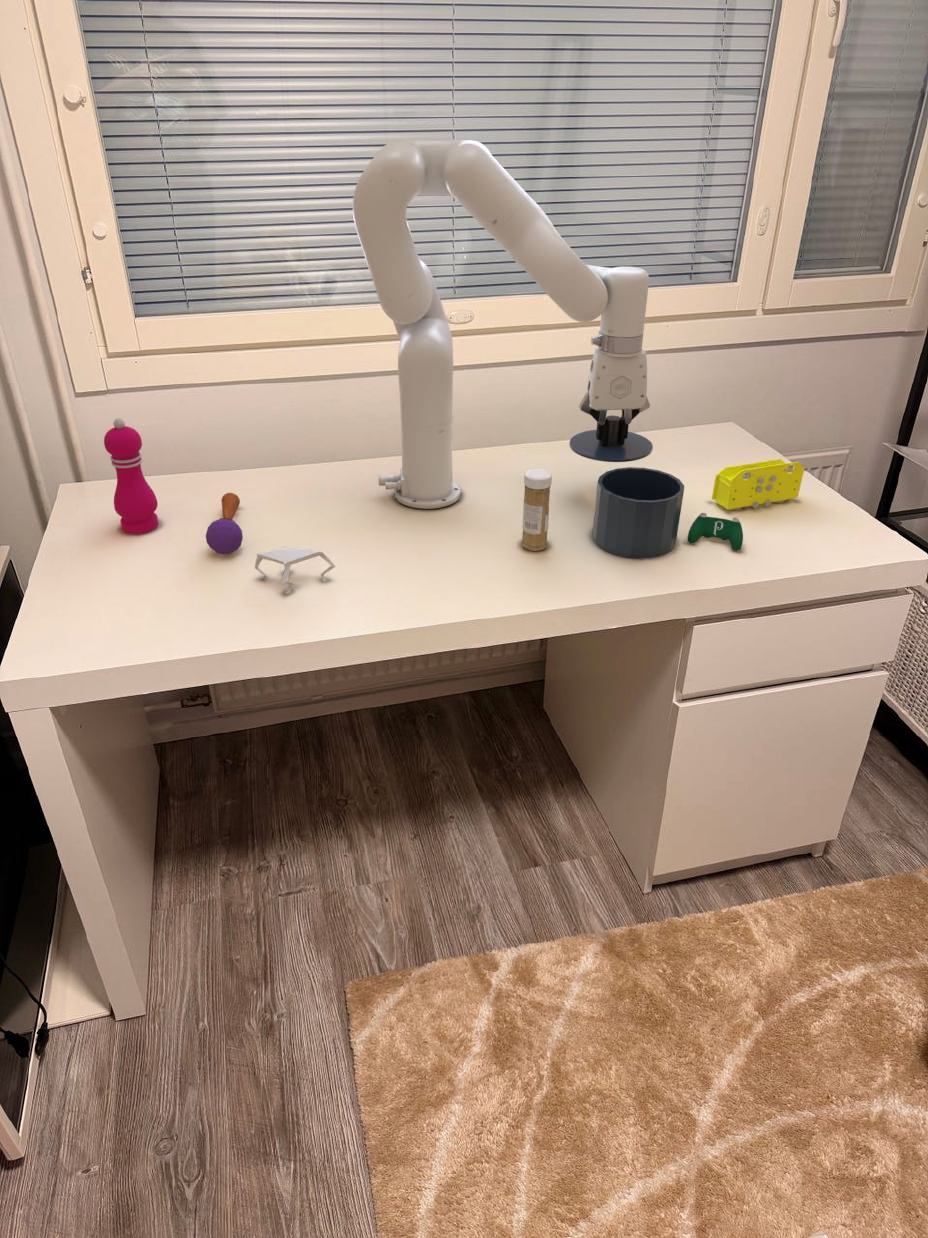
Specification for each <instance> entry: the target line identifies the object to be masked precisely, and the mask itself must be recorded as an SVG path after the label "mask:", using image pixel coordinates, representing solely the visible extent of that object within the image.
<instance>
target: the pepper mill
mask: <svg viewBox="0 0 928 1238" xmlns="http://www.w3.org/2000/svg"><path fill="white" fill-rule="evenodd" d="M112 424H113V427H112V428H110V429H109V430H108V431H107V432H106V433H105V434H104V437H103V445H104V448H105V450H106V452H107V453H108V454H110V455H111V456H110V461H111V465H112V466H113V468H114V469H115V472H116V487H115V491H114V495H113V508H114V511H115V513H116V514H117V515H118V516H119V517H121V518H120V521H119V522H120V526H121V529H122V531H123V532H124V533H126V534H130V535H142V534H143V535H144V534H146V533H151V532H152V531H154V530H156V529H157V528H158V527H159V524H160V523H159V519H158V514H157V513H156V510H157V508H158V505H159V504H158V500H157V497H156V494H155V492H154V490H153V489H152V488H151V486H150V484H149V483H148V482H147V479H146V478H145V476H144V474H143V470H142V465H141V464H142V463H143V458H142V453H141V452H140V451H141V449H142V447H143V440H142V437H141V435H140V434H139V433H140V432H138V431H137V430H136V429H135V428H133V427H131V426H127V425H126V422H125V420H124V419H122V418H119V417H118V418H115V419H114V420H113V423H112Z"/></svg>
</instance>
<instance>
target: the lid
mask: <svg viewBox="0 0 928 1238" xmlns="http://www.w3.org/2000/svg"><path fill="white" fill-rule="evenodd" d="M606 424H607V438H606V445H605V446H602V445H601V444H600V442H599V440H597V439H596V430H597V429H591V430H590V429H589V430H586V431H582V432H578V433H576V434H574V435H573V436H572V437H571V438H570V439H569V443H568V445H569V446H568V447H569V449H570V450H571V451H572V452H573V453H575V454H576V455H578V456H580V457H583V458H586V459H589V460H593V461H596V462H597V461H598V462H604V463H605V462H606V463H627V462H635V461H639V460H641V459H642V460H643V459H644V458H646V457H648V456H650V454H652V453H653V448H654V446H653V443H652V441H651V440H650V439H648V438H647V437H645V436H643V435H641V434H638V433H635V432H631V431H628V436H627V439H625V442H624V445H621V444H619V435H620V425H621V416H618V415H606Z"/></svg>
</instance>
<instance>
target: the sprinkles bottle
mask: <svg viewBox="0 0 928 1238" xmlns="http://www.w3.org/2000/svg"><path fill="white" fill-rule="evenodd" d="M552 481H553V474H552V473H551V472H550V471H549V470H546V469H542V468H533V469H529V470H526V471H525V472H524V475H523V484H524V495H523V507H522V508H523V512H522V526H521V527H522V537H521V538H522V539H521V546H522V548H523V549H526V550H528V551H533V552H534V551H535V552H538V551H543V550H545V549H546V548H547V546H548V530H549V517H550V513H549V512H550V495H551V493H550V492H551V486H552Z"/></svg>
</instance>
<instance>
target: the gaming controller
mask: <svg viewBox="0 0 928 1238" xmlns="http://www.w3.org/2000/svg"><path fill="white" fill-rule="evenodd" d="M701 537H703V538H706V539H710V538H711V539H718V540H721V541H723V542H724V541H728V542H729V544H730V546H731V549H732V550H733V551H736V552H738V551H741V550H742V547H743V542H744V532H743V526H742V524H741V520H740V519H739V518H738V517H736V516H734V517H733V518H732V519H728V518H727V519H726V518H721V517H715V516H714V517H713V516H707V513H706V512H701V513H699V515H697V517H696V518H695V520H693V522H692V524H691V525H690V527H689V530H688V534H687V540H686V541H687V543H688V544H696V543H697V542H698V541H699V540H700V539H701Z"/></svg>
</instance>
